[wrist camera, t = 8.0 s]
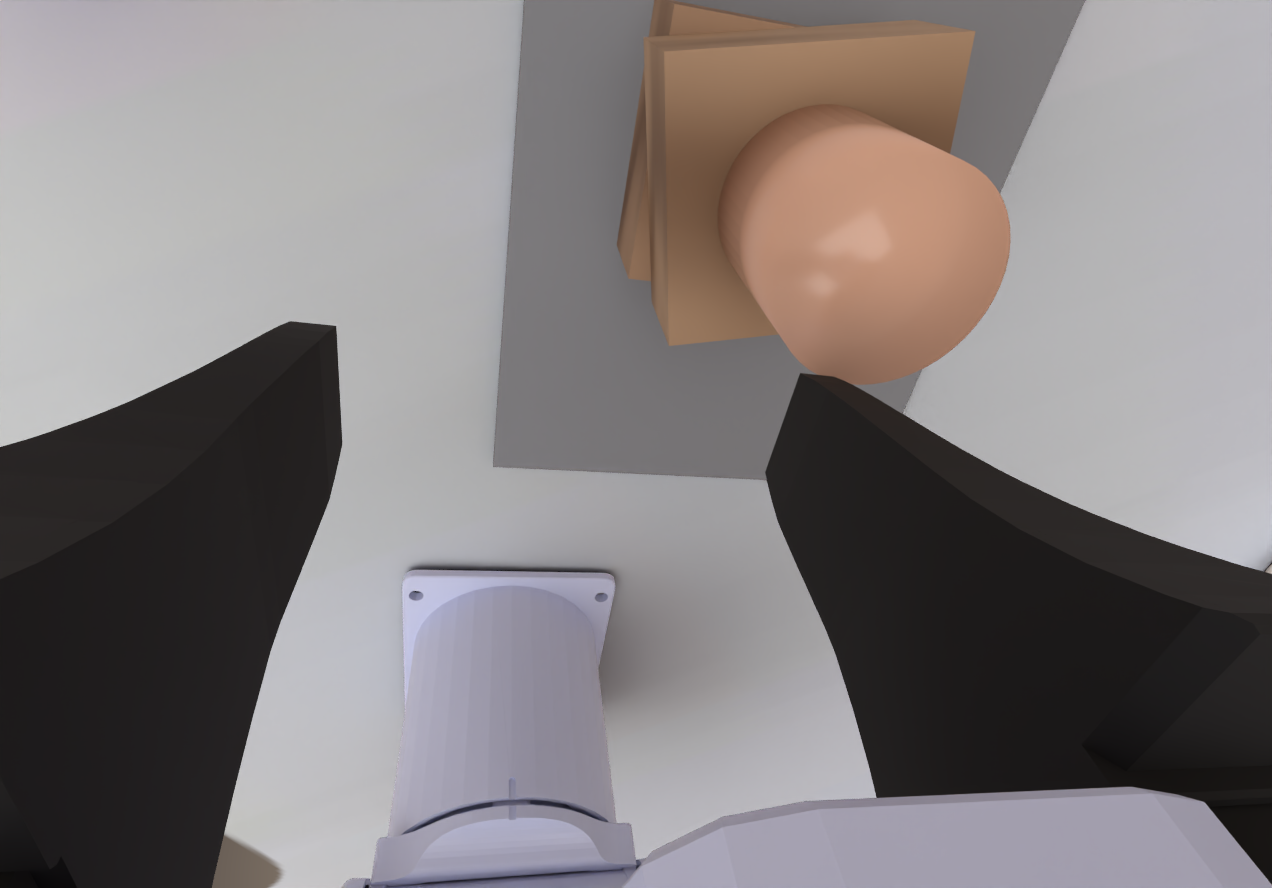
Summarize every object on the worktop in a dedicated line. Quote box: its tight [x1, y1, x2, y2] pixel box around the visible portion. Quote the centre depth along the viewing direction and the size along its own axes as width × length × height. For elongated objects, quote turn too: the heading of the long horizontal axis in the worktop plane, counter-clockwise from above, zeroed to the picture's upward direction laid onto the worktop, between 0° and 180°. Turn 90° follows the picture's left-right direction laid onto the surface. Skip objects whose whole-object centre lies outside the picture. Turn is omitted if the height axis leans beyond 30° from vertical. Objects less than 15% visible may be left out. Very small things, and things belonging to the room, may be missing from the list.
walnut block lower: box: [617, 0, 807, 281], centre depth 18 cm, size 6×6×2 cm
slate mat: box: [493, 0, 1085, 480], centre depth 21 cm, size 16×14×1 cm
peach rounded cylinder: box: [718, 104, 1010, 385], centre depth 13 cm, size 4×4×4 cm
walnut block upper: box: [644, 20, 975, 346], centre depth 16 cm, size 6×6×2 cm
